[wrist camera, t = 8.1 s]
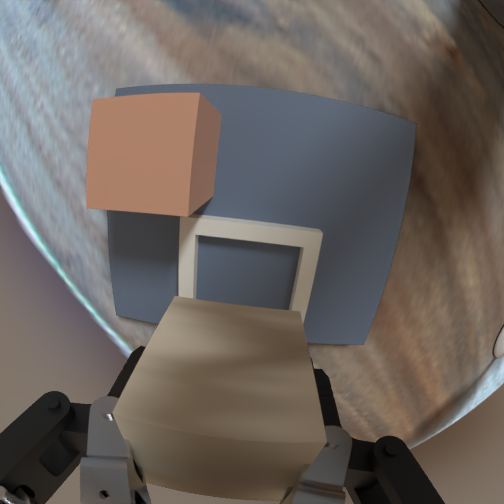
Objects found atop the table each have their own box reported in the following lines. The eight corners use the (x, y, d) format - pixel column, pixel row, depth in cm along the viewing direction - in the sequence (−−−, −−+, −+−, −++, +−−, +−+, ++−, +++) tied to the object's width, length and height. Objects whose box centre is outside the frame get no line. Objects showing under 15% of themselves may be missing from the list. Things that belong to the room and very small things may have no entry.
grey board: (406, 125, 15) (424, 122, 13) (358, 334, 21) (367, 352, 19) (126, 92, 15) (109, 86, 13) (123, 306, 21) (110, 321, 19)
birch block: (300, 311, 11) (327, 441, 5) (278, 393, 12) (283, 500, 7) (174, 296, 11) (112, 413, 5) (178, 380, 12) (146, 482, 7)
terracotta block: (222, 115, 15) (200, 92, 9) (213, 196, 16) (187, 216, 11) (144, 114, 15) (93, 99, 9) (138, 190, 16) (86, 208, 11)
